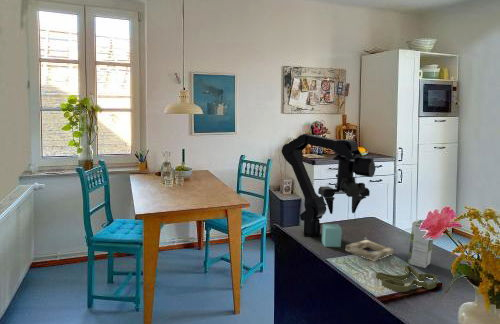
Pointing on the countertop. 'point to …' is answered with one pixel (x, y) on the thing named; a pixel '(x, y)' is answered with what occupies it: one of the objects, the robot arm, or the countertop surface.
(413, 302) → the countertop surface
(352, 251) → the socket base
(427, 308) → the countertop surface
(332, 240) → the turquoise block
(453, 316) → the countertop surface
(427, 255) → the syrup box
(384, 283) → the cookie cutter
